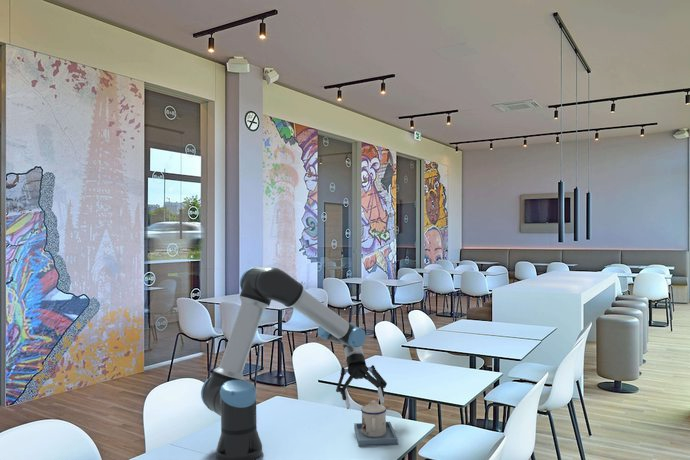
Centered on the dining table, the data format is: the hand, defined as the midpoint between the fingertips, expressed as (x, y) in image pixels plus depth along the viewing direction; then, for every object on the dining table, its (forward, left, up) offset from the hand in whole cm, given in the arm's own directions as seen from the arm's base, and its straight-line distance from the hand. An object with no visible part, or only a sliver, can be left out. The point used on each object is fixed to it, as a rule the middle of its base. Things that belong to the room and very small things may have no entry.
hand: (365, 405), depth 196 cm
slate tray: (+2, -11, -8) cm, 13 cm away
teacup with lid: (+2, -11, -7) cm, 13 cm away
